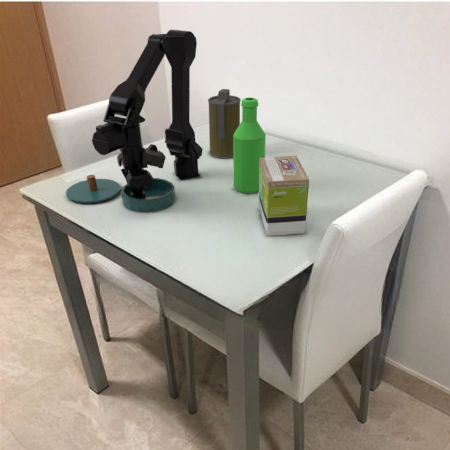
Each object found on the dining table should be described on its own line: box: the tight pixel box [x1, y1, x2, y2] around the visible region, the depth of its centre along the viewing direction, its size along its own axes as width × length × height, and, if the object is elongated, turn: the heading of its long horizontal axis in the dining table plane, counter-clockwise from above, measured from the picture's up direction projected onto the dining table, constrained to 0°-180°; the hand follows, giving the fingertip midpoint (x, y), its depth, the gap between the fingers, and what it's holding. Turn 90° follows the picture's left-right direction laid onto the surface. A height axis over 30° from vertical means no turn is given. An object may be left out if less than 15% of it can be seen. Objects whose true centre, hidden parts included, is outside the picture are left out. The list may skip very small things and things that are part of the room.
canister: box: [207, 88, 242, 159], centre depth 161 cm, size 11×10×20 cm
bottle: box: [232, 97, 266, 194], centre depth 137 cm, size 9×9×25 cm
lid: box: [65, 174, 121, 204], centre depth 142 cm, size 15×15×5 cm
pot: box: [120, 177, 176, 213], centre depth 138 cm, size 14×14×4 cm
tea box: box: [258, 155, 310, 237], centre depth 123 cm, size 15×10×15 cm, turn 5°
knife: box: [130, 191, 163, 199], centre depth 138 cm, size 9×2×2 cm, turn 110°
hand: (138, 198), depth 138 cm, fingers open, 3 cm apart
